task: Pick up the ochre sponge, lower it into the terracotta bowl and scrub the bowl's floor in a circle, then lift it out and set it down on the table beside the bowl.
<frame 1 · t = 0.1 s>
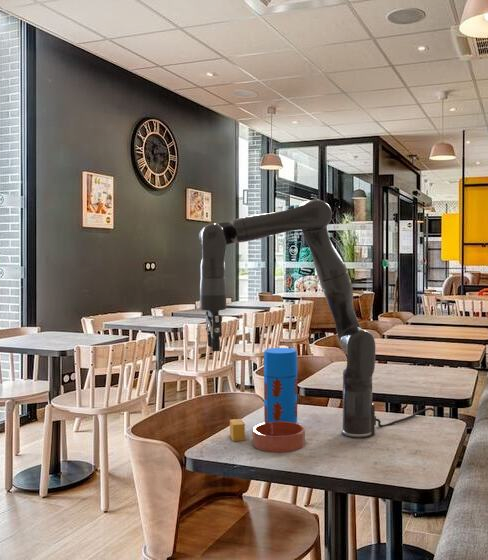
hand: (213, 348, 175), 29 cm above the table, tool pointing down, fingers open, 8 cm apart
thermos: (280, 426, 198), on the table
sponge: (237, 437, 186), on the table
bowl: (279, 443, 180), on the table
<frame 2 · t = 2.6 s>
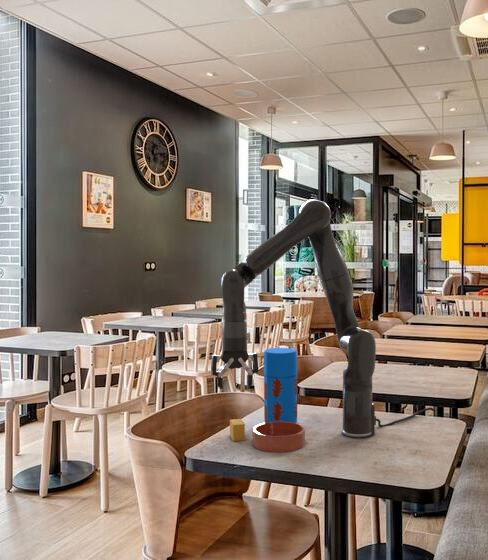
hand: (234, 387, 184), 16 cm above the table, tool pointing down, fingers open, 8 cm apart
nothing on the table moved.
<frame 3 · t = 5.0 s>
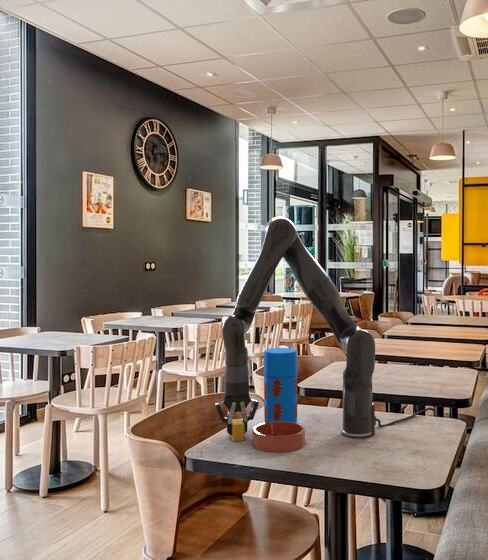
hand: (237, 433, 186), 1 cm above the table, tool pointing down, fingers closed on sponge, 3 cm apart
sponge: (237, 437, 186), on the table, touching gripper
everything else where it was.
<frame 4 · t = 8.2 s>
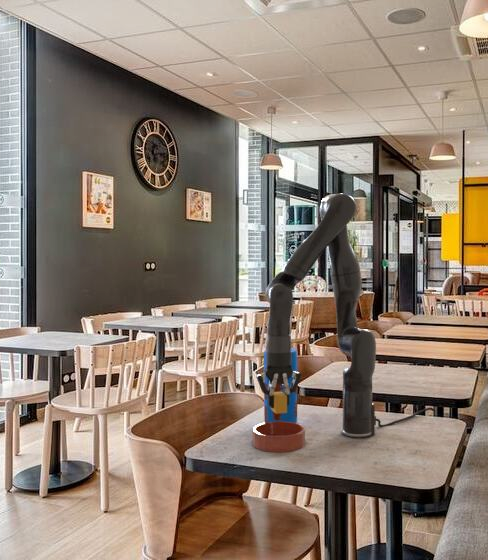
hand: (278, 406, 180), 11 cm above the table, tool pointing down, fingers closed on sponge, 3 cm apart
sponge: (278, 410, 180), point 10 cm above the table, touching gripper
everything else where it was.
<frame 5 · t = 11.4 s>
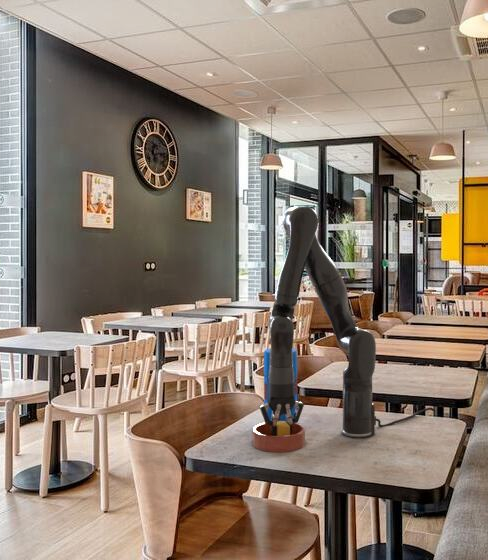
hand: (281, 436, 181), 2 cm above the table, tool pointing down, fingers closed on sponge, 3 cm apart
sponge: (281, 440, 181), point 1 cm above the table, touching gripper
everything else where it was.
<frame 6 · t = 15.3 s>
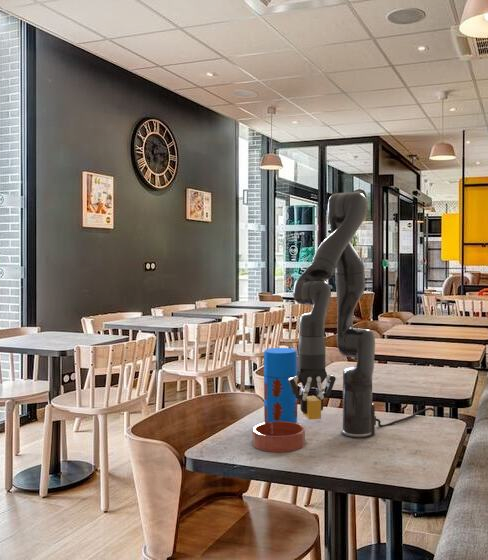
hand: (311, 412, 168), 13 cm above the table, tool pointing down, fingers closed on sponge, 3 cm apart
sponge: (311, 416, 168), point 12 cm above the table, touching gripper
everything else where it was.
when the fingers open (1 cm above the table, at t = 18.2 s): sponge stays where it is, on the table.
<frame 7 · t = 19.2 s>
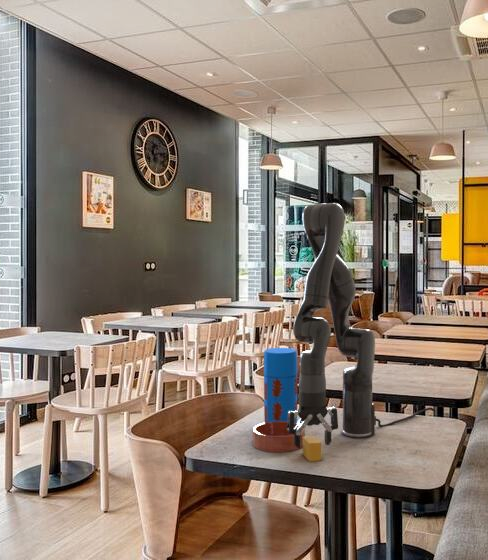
hand: (312, 445, 169), 3 cm above the table, tool pointing down, fingers open, 8 cm apart
sponge: (312, 457, 168), on the table
everything else where it was.
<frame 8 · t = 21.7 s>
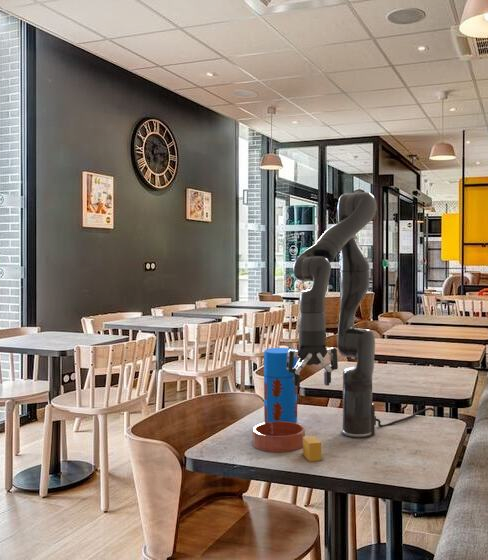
hand: (312, 386, 168), 20 cm above the table, tool pointing down, fingers open, 8 cm apart
nothing on the table moved.
at the end: sponge inside the target area (0.3 cm from its centre), on the table; the gripper is holding nothing; sponge tilted 0° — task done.
